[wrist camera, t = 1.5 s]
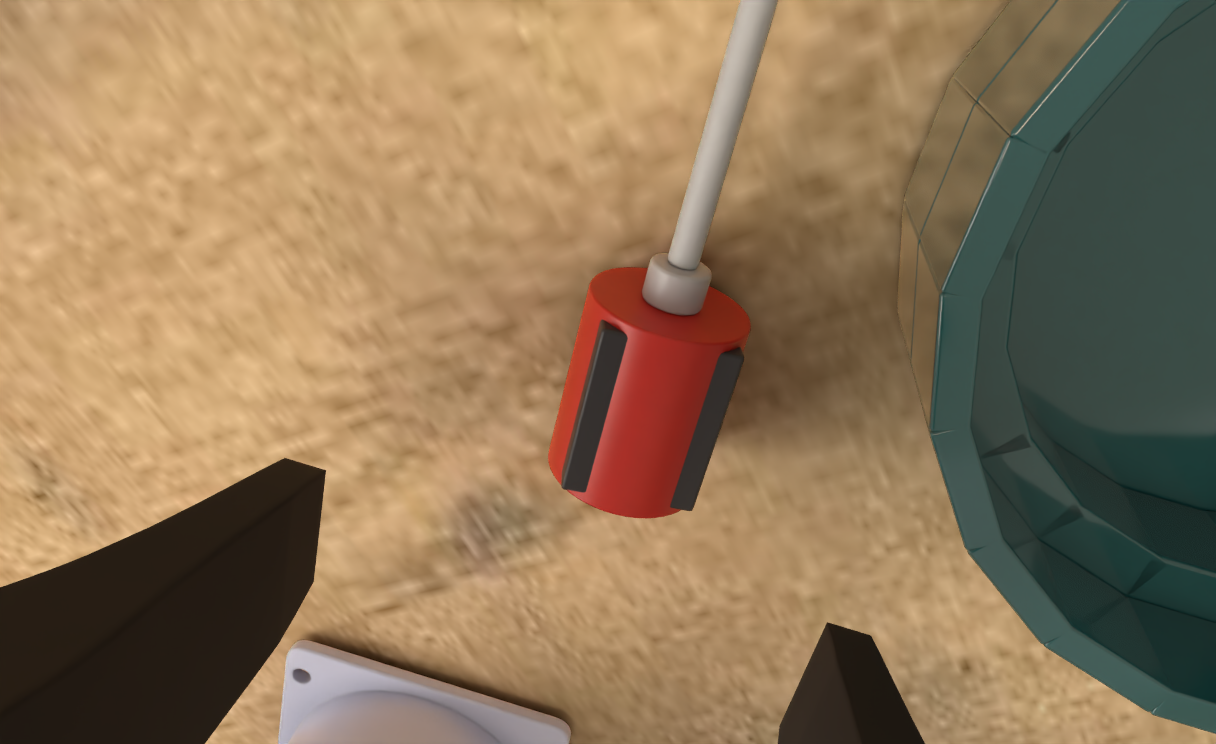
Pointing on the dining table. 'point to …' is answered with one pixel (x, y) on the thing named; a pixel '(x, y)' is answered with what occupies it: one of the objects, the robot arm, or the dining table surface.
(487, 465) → the dining table surface
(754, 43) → the screwdriver
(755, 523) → the dining table surface
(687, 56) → the dining table surface
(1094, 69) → the bowl
